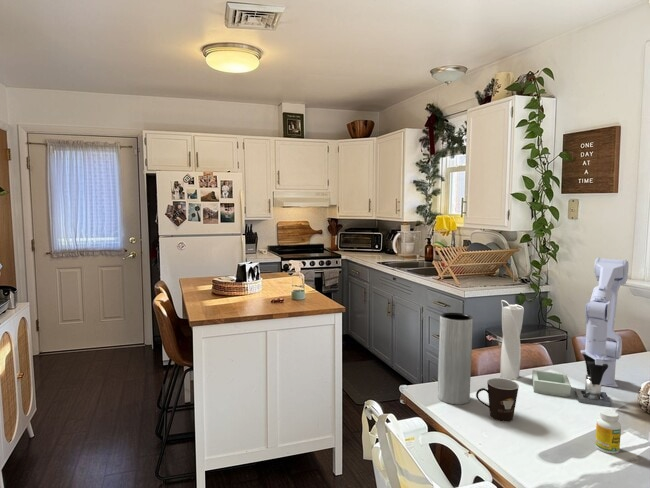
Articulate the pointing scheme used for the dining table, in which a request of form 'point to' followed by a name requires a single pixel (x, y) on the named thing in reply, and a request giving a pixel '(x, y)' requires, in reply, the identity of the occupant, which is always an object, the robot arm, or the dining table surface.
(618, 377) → the dining table surface
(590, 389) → the shiny metal cylinder
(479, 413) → the dining table surface
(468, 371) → the vase
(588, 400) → the grey square frame
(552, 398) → the dining table surface
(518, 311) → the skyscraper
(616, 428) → the supplement bottle
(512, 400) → the coffee mug
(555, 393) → the bin
